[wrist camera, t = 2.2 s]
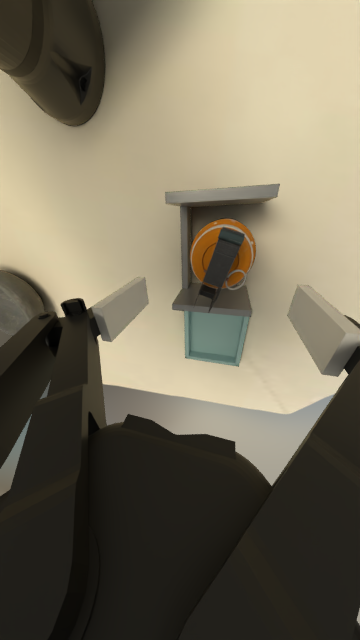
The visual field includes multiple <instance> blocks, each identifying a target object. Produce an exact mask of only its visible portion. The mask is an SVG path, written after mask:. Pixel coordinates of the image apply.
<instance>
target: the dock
mask: <svg viewBox="0 0 360 640" xmlns="http://www.w3.org/2000/svg"><path fill="white" fill-rule="evenodd" d="M279 186H280V184H270V185H257V186H244V187H230V188H217V189H204V190H191V191H177V192H165V199H166V204H171V205H176V206H180V214H181V252H182V290H181V291H180V293H179V294H178V296H177V297H176V299H175V301H174V302H173V304H172V309H173V310H179V311H190V312H201V313H208V312H209V308H210V305H211V302H212V299H210V298H207V297H205V296H202V295H199V296H198V293H199V290H200V287H201V285H202V283H191V261H190V250H191V207H201V206H220V205H239V204H258V203H263V202H266V201H268V200H271V199H273V198H276V197H277V195H278V191H279ZM238 286H240V285H234V286H231V287H230V288H236V287H238ZM216 291H217V289H216ZM197 296H198V299H197ZM196 299H197V301H196ZM195 301H196V304H195ZM194 304H195V306H194ZM193 307H194V308H193ZM209 313H212V314H222V315H233V316H244V317H251V313H252V309H251V305H250V300H249V296H248V292H247V288H246V285H243V286H242V287H240V288H239V289H236V290H230V289H228V288H224V289H221V291H220V294H219V296H218V298H217V300H216V302H215V303H214V305H213V307H212V308H211V310H210V312H209Z"/></svg>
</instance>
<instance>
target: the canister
mask: <svg viewBox="0 0 360 640" xmlns="http://www.w3.org/2000/svg"><path fill="white" fill-rule="evenodd" d="M255 254H256V245H255V241H254V238H253V236H252V234H251V232H250V231H249V230H248V229H247V228H246V226H244V225H243V224H241V223H240V222H238V221H237V220H234V219H231V218H223V219H219V220H216V221H214V222H211V223H209V224H208V225H206V226H205V227H203V228H202V229H201V230H200V231H199V233H198V234H197V235H196V237H195V239H194V240H193V243H192V246H191V250H190V261H191V266H192V270H193V272H194V274H195V276H196V277H197V279H198V280H199V281H200V282H201V283H202V285H201V287H200V290H199V293H198V296H199V295H202V296H205V297H207V298H210V299H212V302H211V305H210V308H209V312H210V310H211V308H212V307H213V305H214V303H215V302H216V300H217V298H218V296H219V294H220V291H221V289H224V288H228V289H230V290H236V289H239V288H240V287H242V286H243V284H244V283H245V281H246V275H247V273H248V272H249V270H250V269H251V267H252V265H253V263H254V259H255ZM243 278H244V280H243V282H242V284H241V285H240V286H238V287H236V288H230V287H231V286H234V285H236V284H237V283H239V282H240V281H241V280H242V279H243ZM216 289H217V291H216ZM198 296H197V299H198ZM197 299H196V301H197ZM196 301H195V304H196ZM195 304H194V306H195ZM193 308H194V307H193ZM209 312H208V313H209Z"/></svg>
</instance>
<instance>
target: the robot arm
mask: <svg viewBox="0 0 360 640" xmlns="http://www.w3.org/2000/svg"><path fill="white" fill-rule="evenodd" d="M0 69H1V70H2V71H4V72H5V73H7V74H8V75H9V76H10V77H11V78H12V79H13V80H14V81H15V82H16V83H17V84H18V85H19V86H20V87H21V88H22V89H23V90H24V91H25V92H26V93H27V94H28V95H29V96H30V97H31V99H32V100H33V101H34V102H35V103H36V104H37V105H38V106H39V107H40V108H41V109H42V110H43V111H44V112H45V113H47V114H48V115H50V116H51V117H53V118H55V119H57V120H58V121H60V122H62V123H64V124H67V125H72V126H75V125H80V124H83V123H85V122H86V121H87V120H88V119H90V117H91V116H92V115H93V114H94V112H95V110H96V108H97V106H98V104H99V101H100V98H101V95H102V90H103V84H104V74H105V59H104V47H103V40H102V34H101V29H100V25H99V21H98V18H97V14H96V11H95V8H94V6H93V3H92V1H91V0H0ZM147 304H148V295H147V288H146V281H145V277H137V278H136V279H134V280H132V281H131V282H129V283H128V284H126V285H125V286H123V287H122V288H120V289H118V290H117V291H115V292H114V293H112V294H111V295H109V296H108V297H106V298H105V299H103V300H101V301H100V302H98V303H97V304H95V305H94V306H92V307H91V308H89V309H86V306H85V303H84V301H83V299H81V298H76V299H70V300H67V301H64V302H63V303H61V307H62V309H63V311H64V314H65V317H62V318H58V316H57V314H56V313H55V312H53V311H49V312H43V313H39V314H38V315H36V316H34V317H33V318H32V319H31V320H30V321H29V322H28V323H27V324H25V325H24V326H23V327H22V328H21V329H20V330H19V331H18V332H17V333H16V334H15V335H13V336H12V337H11V338H10V339H9V340H8V341H7V342H6V343H5V344H4V345H2V346H1V347H0V468H1V467H2V465H3V464H4V462H5V460H6V459H7V457H8V455H9V454H10V452H11V450H12V448H13V447H14V445H15V443H16V441H17V439H18V437H19V436H20V434H21V432H22V430H23V428H24V427H25V425H26V423H27V421H28V419H29V418H30V416H31V414H32V416H31V419H30V423H29V426H28V430H27V434H26V436H25V440H24V444H23V447H22V451H21V454H20V457H19V461H18V464H17V468H16V471H15V475H14V478H13V482H12V485H11V489H10V490H9V491H7V492H6V493H5V494H3V495H2V496H0V640H360V625H359V623H358V622H357V616H358V612H359V608H360V324H359V323H358V322H356V321H355V320H354V319H352V318H350V317H348V316H346V315H343V314H341V313H340V312H339V311H338V310H337V309H336V308H335V307H333V306H332V305H331V304H330V303H329V302H328V301H326V300H325V299H324V298H323V297H322V296H321V295H319V294H318V293H317V292H316V291H315V290H314V289H312V288H311V287H310V286H309V285H298V286H297V289H296V292H295V294H294V297H293V300H292V303H291V306H290V309H289V312H288V315H287V316H288V317H289V319H290V321H291V323H292V324H293V326H294V328H295V329H296V331H297V333H298V335H299V336H300V338H301V340H302V341H303V343H304V345H305V347H306V348H307V350H308V352H309V353H310V355H311V357H312V358H313V360H314V362H315V364H316V365H317V367H318V369H319V370H320V372H321V374H324V375H330V376H337V377H338V376H339V375H340V373H341V372H342V371H343V369H345V370H346V372H347V373H348V374H349V375H348V376H347V377H346V379H345V380H344V382H343V383H342V384H341V386H340V387H339V389H338V391H337V392H336V393H335V395H334V396H333V398H332V399H331V401H330V402H329V404H328V405H327V407H326V408H325V410H324V411H323V412H322V414H321V415H320V417H319V418H318V420H317V421H316V423H315V424H314V426H313V427H312V429H311V430H310V431H309V433H308V435H307V436H306V438H305V439H304V440H303V442H302V443H301V445H300V446H299V448H298V449H297V451H296V452H295V454H294V455H293V456H292V458H291V460H290V461H289V462H288V464H287V465H286V467H285V468H284V470H283V471H282V472H281V474H280V475H279V477H278V478H277V479H276V481H275V482H274V484H273V485H272V486H271V485H270V483H269V482H268V481H267V480H266V479H265V477H264V476H263V474H262V473H261V472H259V470H258V469H257V468H256V467H255V466H254V465H253V464H252V463H251V462H250V461H249V460H247V459H246V458H245V457H243V456H242V455H240V454H239V453H237V452H235V442H234V441H230V440H226V439H223V438H219V437H215V436H210V435H207V434H195V435H193V434H192V435H175V434H173V433H171V432H170V431H168V430H167V429H165V428H163V427H162V426H160V425H159V424H157V423H155V422H154V421H152V420H149V419H145V418H142V417H138V416H134V415H130V414H128V415H127V417H126V419H125V421H124V422H120V423H115V424H112V425H108V426H107V424H106V417H105V408H104V407H105V406H104V396H103V386H102V375H101V365H100V355H99V344H98V339H97V336H99V335H101V338H102V340H103V341H108V342H112V341H113V340H114V339H115V338H116V337H117V336H118V335H119V334H120V333H121V332H122V331H123V330H124V329H125V327H126V326H127V325H128V324H129V323H130V322H131V321H132V320H133V319H134V318H135V317H136V316H137V315H138V314H139V313H140V312H141V311H142V310H143V309H144V308H145V306H146V305H147ZM50 380H51V382H50ZM49 382H50V386H49V390H48V395H47V397H46V398H42V399H40V398H41V396H42V394H43V392H44V391H45V389H46V387H47V385H48V383H49Z"/></svg>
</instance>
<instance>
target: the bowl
mask: <svg viewBox="0 0 360 640" xmlns="http://www.w3.org/2000/svg"><path fill="white" fill-rule="evenodd" d="M43 312H44V305H43V303H42V300H41V298H40V297H39V295H38V294H37V293H36V291H35V290H34V289H33V288H32V287H31V286H30V285H29V284H27V283H26V282H25V281H23V280H22V279H20V278H19V277H17V276H15V275H13V274H10V273H8V272H5V271H1V270H0V331H2V332H4V333H7V334H9V335H11V336H13V335H15V334H16V333H17V332H18V331H19V330H20V329H21V328H22V327H23V326H24V325H25V324H27V323H28V322H29V321H30V320H31V319H32V318H33V317H34V316H36V315H38V314H39V313H43Z"/></svg>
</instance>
